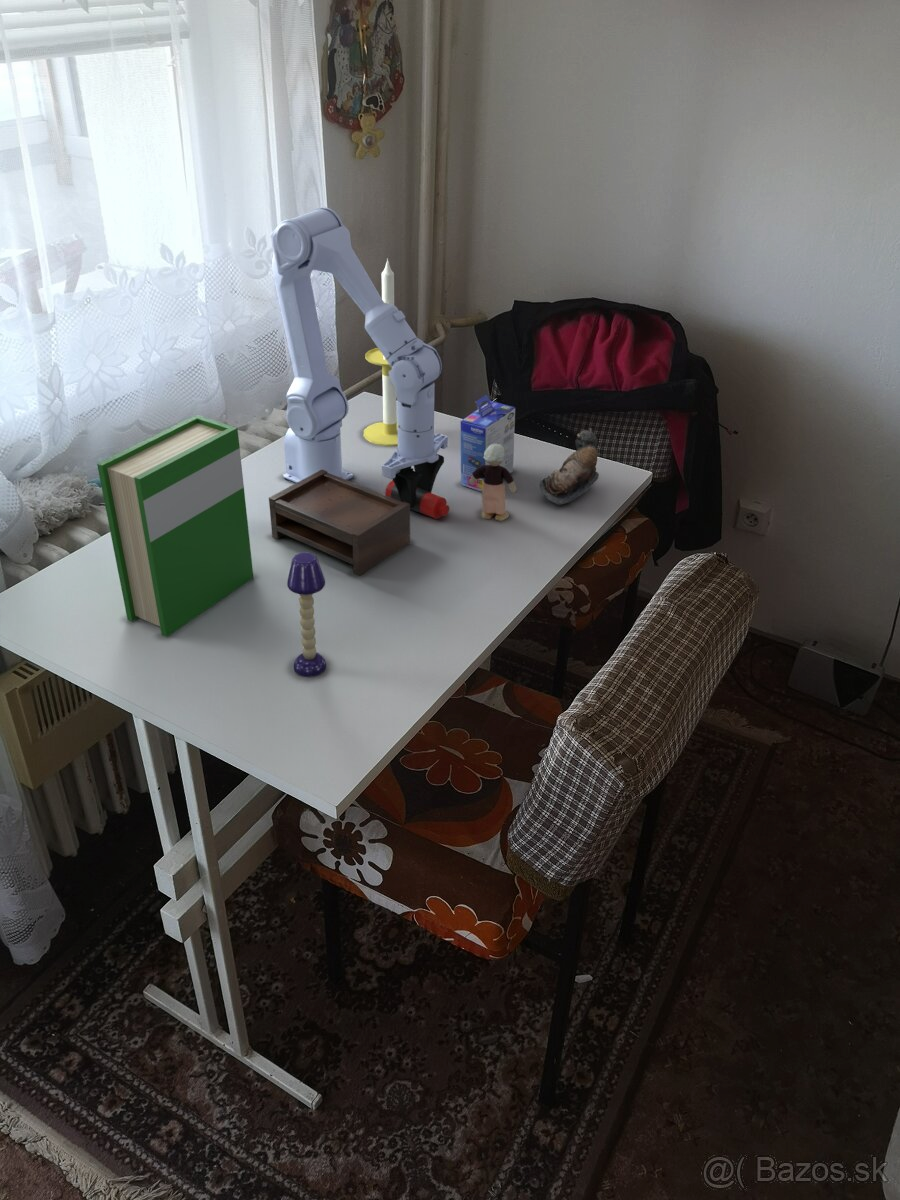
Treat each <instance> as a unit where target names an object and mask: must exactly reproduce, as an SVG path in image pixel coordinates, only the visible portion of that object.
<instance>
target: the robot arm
mask: <svg viewBox="0 0 900 1200" xmlns="http://www.w3.org/2000/svg"><path fill="white" fill-rule="evenodd" d="M270 241H271V246H272V251H273V254H272V260H271V261H272V262H271V270H272V275H273V281H274V286H275V290H276V296H277V300H278V304H279V310H280V313H281V320H282V324H283V328H284V333H285V338H286V343H287V348H288V353H289V358H290V361H291V362H290V363H291V366H292V371H293V376H294V379H293V380H292V383H291V385H290V387H289V388H288V390H287V393H286V395H285V397H286V402H287V408H286V412H285V414H286V415H285V418H286V423H287V425H288V427H289V428H288V429H287V431H286V433H285V436H284V440H283V448H284V449H283V450H284V461H285V473H283V474H282V478H284V479H286V480H289V481H291V482H294V483H297V482H299V481H301V480H303V479H305V478H307V477H309V476H310V475H312V474H314V473H316V472H318V471H320V470H322V469H323V470H325V471H327V472H328V473H330V474H332V475H335V476H337V477H340V478H343V479H345V480H348V481H349V480H350V479H352V478H353V477H354V473H352V472H350V471H347V470H344V469H343V457H342V456H343V455H342V436H341V435H342V433H341V428H342V426H343V420H344V419H345V418H346V417H347V415H348V413H349V408H350V407H349V401H348V398H347V396H346V395H345V393H344V391H343V389H342V387H341V383H340V378H339V377H336V376H335V375H333V374H332V373H330V372H329V369H328V365H327V359H326V353H325V347H324V343H323V337H322V332H321V327H320V323H319V316H318V313H317V306H316V302H315V296H314V292H313V285H312V281H311V273H312V272H313V271H317V272H324V273H327V274H328V273H329V274H332V276H333V277H334V279H335V280H336V281H337V282H338V283H339V284H340V286H341V287H342V288H343V290H344V292H346V293H347V295H348V296H349V297H350V298H351V299H352V301H353V302H354V304H355V305H356V306H357V307H358V309H359V310H360V311H361V312H362V313H363V315H364V316H365V320H364V329H365V331H366V333H367V335H369V337H370V338H371V340H372V342H373V343H374V344H375V346H376V348H379V350H380V351H381V353H382V354H383V356H384V357H385V359H386V360H387V362H388V363H389V364H390V366H391V367H392V370H391V371H389V377H390V380H391V382H392V384H393V386H394V387H395V390H396V417H397V422H398V446H397V448H396V449H395V450H394V452H393V453H392V454H391V456H389V458H388V459H387V461H386V462H384V463H383V464H381V476H382V477H384V478H386V479H389V480H391V481H392V480H393V481H394V483H395V485H396V488H397V490H398V493H399V496H400V500H401V502H406V503H409V504H410V510H412V508H413V507H414V505H415V499H416V489H417V487H418V488H420V489H423V490H426V491H428V492H431V493H432V491H433V487H434V484H435V480H436V478H437V475H438V473H439V471H440V469H441V468H442V466H443V464H444V463H445V457H444V456H443V455H441V454H440V453H439V454H438V452H439V451H440V450H441V449H442V450H445V449H447V448H448V447H449V436H448V435H446V434H442V433H439V432H438V433H435V391H436V390H435V389H436V388H435V386H436V385H435V382H434V381H436V380H437V379H438V378H439V377H440V376H441V373H442V370H443V363H442V359H441V357H440V355H439V353H438V351H437V349H436V348H434V347H433V346H432V345H430V344H427V343H425V342H424V341H423V340H422V339H420V338H418V337H417V335H416V333H415V332H414V331H413V329H412V328H411V326H410V325H409V323H408V322H407V320H406V315H405V314H404V312H403V311H402V310H399V308H398V307H397V306H396V305H395V304H394V305H391V304H387V303H384V302H383V300H382V296H381V295H380V293H379V291H378V290H377V288H376V286H375V284H374V283H373V281H372V280H371V278H370V276H369V274H368V273H367V271H366V269H365V267H364V265H363V264H362V262H361V261H360V259H359V257H358V255H357V254H356V252H355V250H354V249H353V247H352V242H351V233H350V230H349V229H348V228H347V227H346V226H345V225H344V223H343V220H342V219H341V217H340V215H338V213H337V212H336V211H335V210H333V209H332V208H330V207H327V206H322V207H318V208H316V209H314V210H312V211H310V212H307V213H303V214H302V215H299V216H295V217H293V218H287V219H284V220H282V221H280V223H279V224H278V225H277V226H276V227H275V229H274V230H273V231H272V232H271V234H270Z"/></svg>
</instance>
